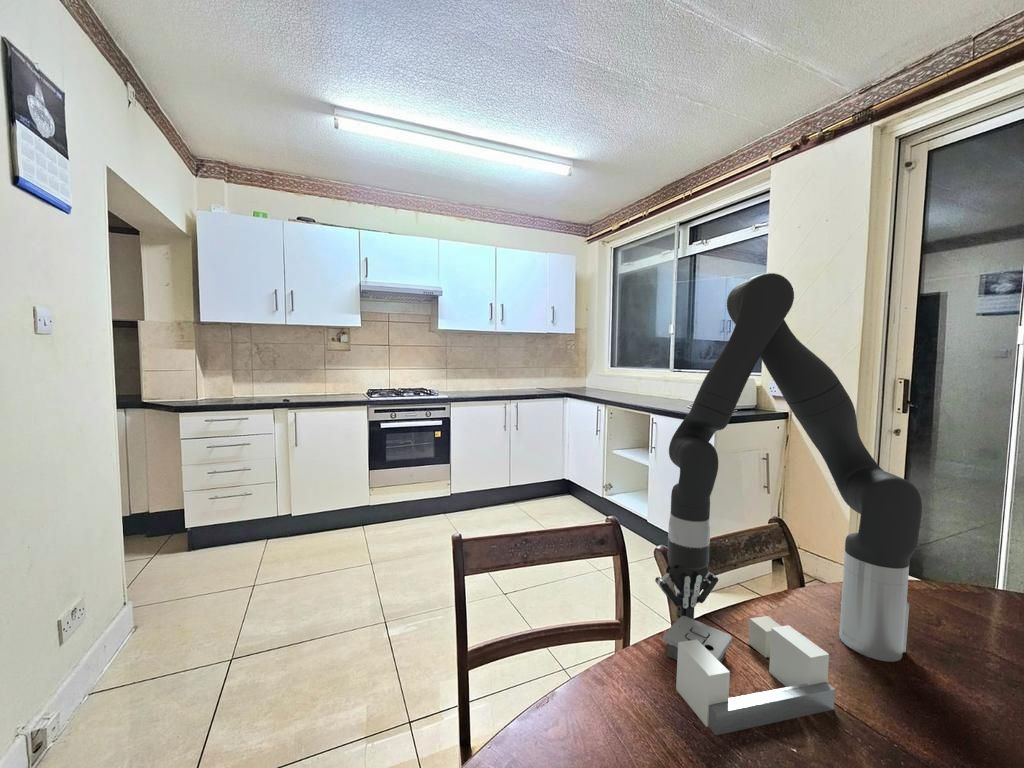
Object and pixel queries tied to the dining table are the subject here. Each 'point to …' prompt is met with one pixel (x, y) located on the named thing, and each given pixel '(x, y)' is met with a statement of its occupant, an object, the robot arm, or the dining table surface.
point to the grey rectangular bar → (770, 707)
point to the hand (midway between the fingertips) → (684, 622)
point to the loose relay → (761, 634)
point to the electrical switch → (696, 637)
